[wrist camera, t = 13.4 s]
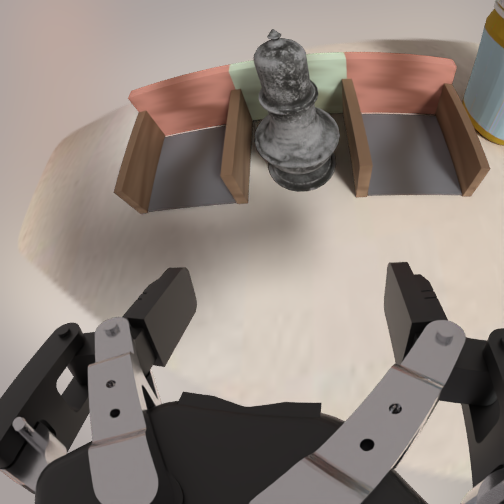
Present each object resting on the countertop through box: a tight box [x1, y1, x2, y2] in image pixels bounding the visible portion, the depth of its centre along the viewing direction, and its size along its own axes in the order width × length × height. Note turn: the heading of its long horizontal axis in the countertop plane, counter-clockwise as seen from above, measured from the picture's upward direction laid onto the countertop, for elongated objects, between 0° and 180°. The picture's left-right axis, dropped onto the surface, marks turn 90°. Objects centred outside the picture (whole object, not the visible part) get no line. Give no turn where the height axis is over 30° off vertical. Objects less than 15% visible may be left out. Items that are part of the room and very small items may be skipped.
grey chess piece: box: [254, 29, 340, 192], centre depth 17 cm, size 6×6×12 cm
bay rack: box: [114, 52, 490, 214], centre depth 20 cm, size 27×10×6 cm, turn 88°
